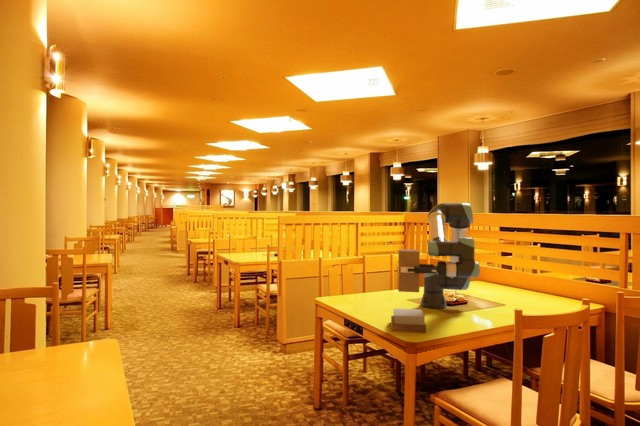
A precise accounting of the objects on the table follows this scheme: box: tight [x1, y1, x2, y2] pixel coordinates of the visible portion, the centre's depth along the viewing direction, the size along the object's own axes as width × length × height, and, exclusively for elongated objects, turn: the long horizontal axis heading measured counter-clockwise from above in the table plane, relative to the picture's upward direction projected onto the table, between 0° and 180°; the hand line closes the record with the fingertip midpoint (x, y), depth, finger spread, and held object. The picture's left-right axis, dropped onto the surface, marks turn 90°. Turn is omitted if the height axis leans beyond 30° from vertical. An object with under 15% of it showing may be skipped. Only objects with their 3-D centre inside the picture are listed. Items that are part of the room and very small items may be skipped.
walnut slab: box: [390, 315, 427, 334], centre depth 202 cm, size 16×16×4 cm
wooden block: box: [397, 248, 420, 293], centre depth 202 cm, size 10×10×20 cm
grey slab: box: [393, 308, 426, 325], centre depth 203 cm, size 14×14×4 cm
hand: (400, 267), depth 203 cm, fingers closed on wooden block, 10 cm apart
